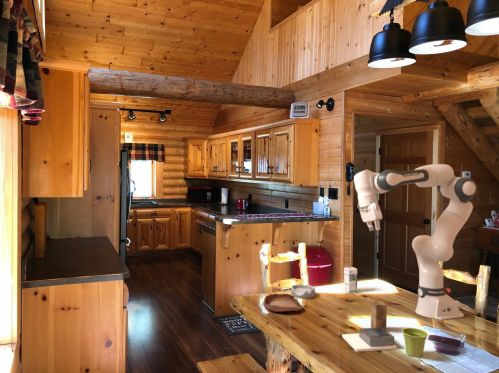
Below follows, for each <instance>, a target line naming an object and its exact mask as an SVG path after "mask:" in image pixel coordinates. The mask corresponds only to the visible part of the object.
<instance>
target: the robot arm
mask: <svg viewBox="0 0 499 373" xmlns="http://www.w3.org/2000/svg"><path fill="white" fill-rule="evenodd" d="M353 183H354V188H355V191H356V193H357V201H358V202H357V208H358V210H359V213H360V217H361V220H362V222H363V223H366V225H367V227H368V229H369V232H372V231H374V229H375V231H380V230H381V226H380V224H381V222H380V221H381V220H382V219H383V214H382V211H381V207H380V205H379V202H378V201H379V200H378V197H377V194H384V193H387V192H391V191H394V190H397V189H398V188H399V187H401V186H403V185H405V186H406V185H411V184H415V185H416V186H417V187H419V188H431V187H436V189H437V191H438V194H439V195H440V196H441V197H443V198H445V199H449V204H448V206H447V207H446V208H445V209H444V210H443V212H442V213H441V214H440V216H439V217H438V218H437V220H436V221H435V224H434V225H435V228H434V229H435V230H434V232H433V235H432V236H430V235H427V234H422V235H417V236H416V237H414V238H413V239H412V243H411V247H412V249H413V252H414V253H415V256H416V259H417V260H416V261H417V266H418V271H419V272H418V274H419V275H418V278H419V281H418V283H419V284H418V286H417V288H418V289H417V295H418V296H417V297H418V298H417V304H416V307H415V312H414V313H416V314H418V315H419V316H422V317H426V318H430V319H436V320H440V321H444V320H451V319H457V318H464V313H463V312H462V311H460V310H459V305H458V303H457V301H456V300H455V299H453V298H452V297H451V296H449V295H448V294H447V293H451V292H452V290H451V288H449V287H445V286H444V271H443V268H442V267H441V265H440V262H447V261H449V260H451V258H452V257H453V255H454V248H453V246H454V241H455V239H456V237H457V235H458V233H459V232H460V230H461V229H462V228H463V226H464V225H465V224H466V222H467V221H468V219H469V217H470V216H471V213H472V212H473V208H474V205H473V203H472V202H471V201H473V200H474V199H475V196H476V193H477V189H478V185H477V183H476V182H475V181H474V180H473V179H472V178H470V177H465V176H464V177H462V176H455V172H454V169H453V167H451V165H449V164H444V163H435V164H427V165H422V166H419V167H416V168H415V169H413V170H406V171H405V170H403V171H397V170H394V169H385V170H383V171H381V172H380V173H379V172H374V171H372V170H369V169H367V168H366V169H363V170H360V171H358V172H356V173H355V174H354V176H353ZM373 222H374V226H373Z"/></svg>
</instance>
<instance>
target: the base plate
mask: <svg viewBox="0 0 499 373" xmlns="http://www.w3.org/2000/svg"><path fill="white" fill-rule="evenodd" d="M341 335H342V336H341V337H342V339H344V340H345V341H346V342H347V343H348V344H349V346H350V347H351V348H352V349H353V350H354V351H355V352H357V353H358V352H372V351H373V352H374V351H386V350H388V351H389V350H397V345H396V344H394V345H391V346H376V347H370V346H369V345H368V344H366V343H365V342H364V341H363V340H362V339H361V338H360V337H359V333H345V334H341Z"/></svg>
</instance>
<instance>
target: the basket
mask: <svg viewBox="0 0 499 373" xmlns="http://www.w3.org/2000/svg"><path fill="white" fill-rule="evenodd" d="M263 307H265V308H264V309H266V310H269V311H270V312H277V313H278V312H291V311H295V312H298V311H301V310H302V309H303V308H304V304H303V305H302V304H301V303H300V302H299V301H298V300H297V298H296V297H294V296H293V295H292V294H290V293H272V294H268V295H266V296H265V297H264V299H263Z"/></svg>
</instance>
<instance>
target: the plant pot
mask: <svg viewBox="0 0 499 373" xmlns="http://www.w3.org/2000/svg"><path fill="white" fill-rule="evenodd" d="M401 332H402V335H403V339H404V346H405V348H404V349H405V354H406V355H408V356H412V357H414V358H421V357H423V356H422V355H424V350H425V345H426V340H427V337H428V336H429V333H428V332H427V331H425V330H423V329H421V328H416V327H405V328H402V329H401Z"/></svg>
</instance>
